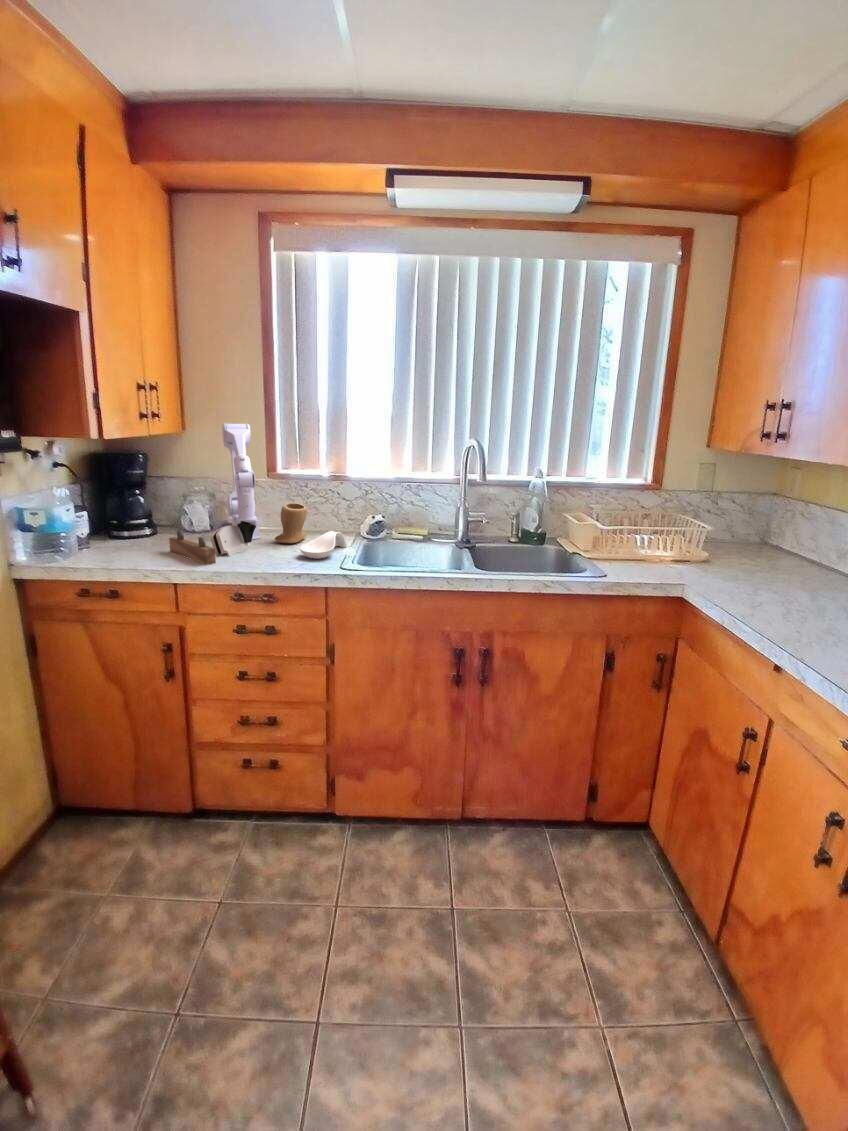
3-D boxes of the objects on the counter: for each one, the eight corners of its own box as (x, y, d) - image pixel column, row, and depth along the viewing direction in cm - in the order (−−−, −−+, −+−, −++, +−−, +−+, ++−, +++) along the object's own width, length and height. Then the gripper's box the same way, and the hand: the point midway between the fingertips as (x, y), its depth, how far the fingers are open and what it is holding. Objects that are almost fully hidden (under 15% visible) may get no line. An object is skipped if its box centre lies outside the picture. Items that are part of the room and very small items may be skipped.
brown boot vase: (300, 546, 212) (299, 507, 208) (270, 544, 214) (269, 505, 210) (315, 538, 226) (314, 501, 222) (287, 536, 228) (286, 499, 224)
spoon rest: (323, 563, 190) (323, 542, 189) (293, 559, 194) (293, 539, 192) (354, 548, 212) (354, 530, 210) (326, 545, 216) (326, 527, 214)
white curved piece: (229, 556, 193) (218, 529, 192) (217, 560, 195) (206, 532, 193) (250, 546, 209) (241, 520, 207) (239, 549, 210) (229, 524, 209)
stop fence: (178, 550, 199) (176, 528, 197) (215, 563, 185) (214, 539, 183) (170, 551, 197) (168, 529, 195) (207, 564, 182) (205, 540, 180)
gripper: (224, 504, 205) (227, 540, 208) (248, 509, 196) (250, 547, 199) (241, 502, 210) (243, 537, 213) (265, 507, 201) (266, 544, 205)
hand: (247, 542), depth 207 cm, fingers closed
